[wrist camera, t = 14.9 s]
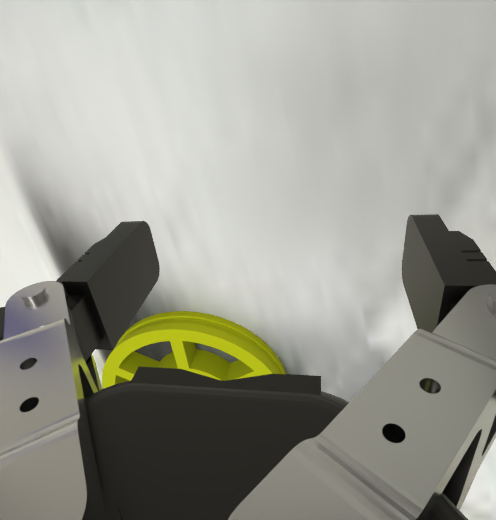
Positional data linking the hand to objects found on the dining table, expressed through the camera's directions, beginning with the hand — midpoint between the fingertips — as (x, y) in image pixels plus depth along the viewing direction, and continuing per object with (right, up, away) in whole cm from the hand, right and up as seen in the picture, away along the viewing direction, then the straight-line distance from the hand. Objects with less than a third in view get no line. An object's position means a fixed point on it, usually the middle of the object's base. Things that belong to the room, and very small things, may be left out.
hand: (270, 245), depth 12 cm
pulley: (-8, -19, +48) cm, 53 cm away
